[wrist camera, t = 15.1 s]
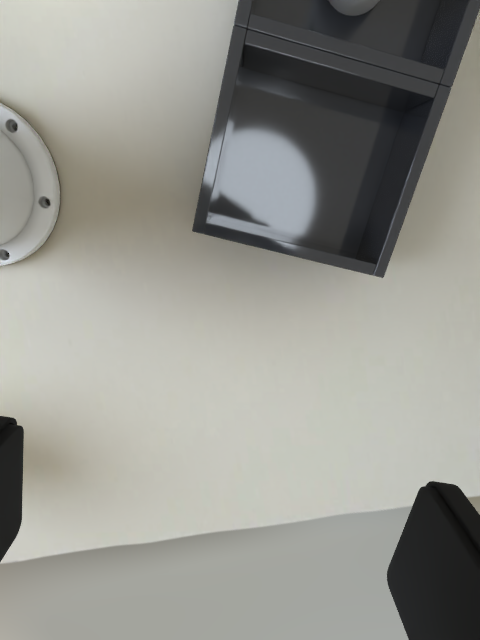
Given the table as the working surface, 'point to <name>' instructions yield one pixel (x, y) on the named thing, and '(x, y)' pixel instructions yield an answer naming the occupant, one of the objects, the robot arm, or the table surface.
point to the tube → (353, 6)
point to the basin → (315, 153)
